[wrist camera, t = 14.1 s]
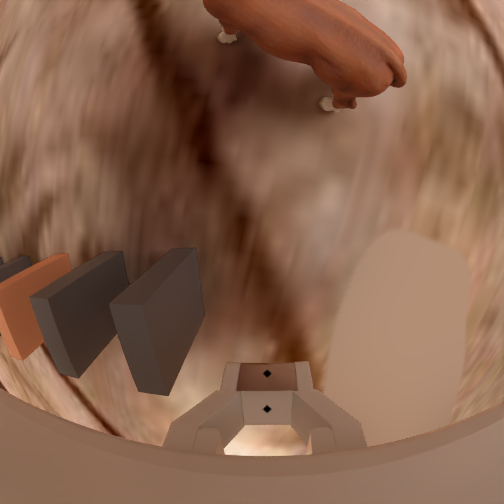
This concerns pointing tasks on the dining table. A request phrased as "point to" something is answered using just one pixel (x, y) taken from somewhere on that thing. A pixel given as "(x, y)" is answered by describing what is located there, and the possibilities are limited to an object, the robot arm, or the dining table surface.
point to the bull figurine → (318, 43)
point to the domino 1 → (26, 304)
